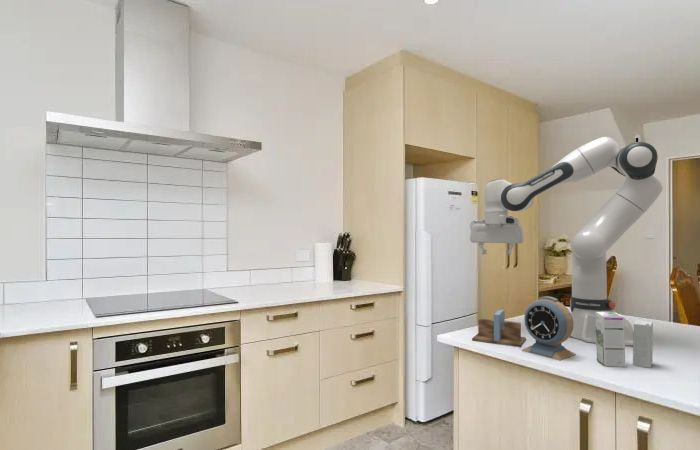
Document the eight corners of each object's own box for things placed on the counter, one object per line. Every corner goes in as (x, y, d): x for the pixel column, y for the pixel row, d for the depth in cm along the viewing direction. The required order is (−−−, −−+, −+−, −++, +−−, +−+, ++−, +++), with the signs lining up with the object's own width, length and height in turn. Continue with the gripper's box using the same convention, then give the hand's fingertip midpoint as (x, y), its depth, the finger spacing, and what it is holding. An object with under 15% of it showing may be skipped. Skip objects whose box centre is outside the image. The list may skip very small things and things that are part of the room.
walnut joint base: (526, 339, 145) (525, 320, 145) (520, 347, 136) (520, 326, 136) (480, 333, 153) (479, 315, 154) (472, 340, 144) (472, 321, 144)
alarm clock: (518, 350, 132) (518, 295, 133) (535, 345, 138) (535, 292, 138) (563, 361, 121) (562, 301, 121) (579, 355, 127) (578, 298, 127)
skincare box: (634, 360, 122) (634, 319, 122) (653, 363, 119) (653, 321, 119) (632, 365, 117) (631, 322, 117) (651, 368, 114) (651, 325, 114)
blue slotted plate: (499, 341, 140) (499, 315, 140) (493, 340, 141) (493, 314, 141) (504, 334, 149) (504, 309, 149) (499, 334, 150) (499, 309, 150)
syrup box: (626, 367, 115) (625, 315, 116) (603, 366, 116) (602, 314, 117) (617, 361, 121) (616, 311, 121) (595, 360, 122) (595, 311, 122)
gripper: (468, 220, 168) (468, 254, 167) (521, 219, 157) (521, 255, 157) (472, 220, 173) (472, 253, 173) (524, 219, 162) (524, 254, 162)
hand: (496, 254), depth 165 cm, fingers open, 8 cm apart
